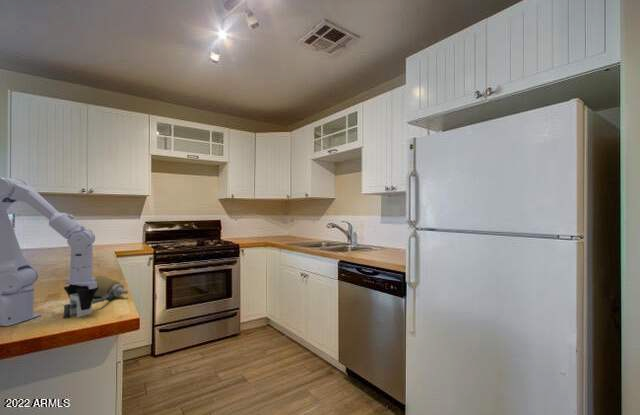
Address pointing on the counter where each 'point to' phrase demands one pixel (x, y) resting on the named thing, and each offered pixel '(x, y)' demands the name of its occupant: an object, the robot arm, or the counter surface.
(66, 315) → the grey lever handle
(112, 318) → the counter surface
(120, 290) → the squeeze bottle
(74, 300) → the grey u-shaped block
